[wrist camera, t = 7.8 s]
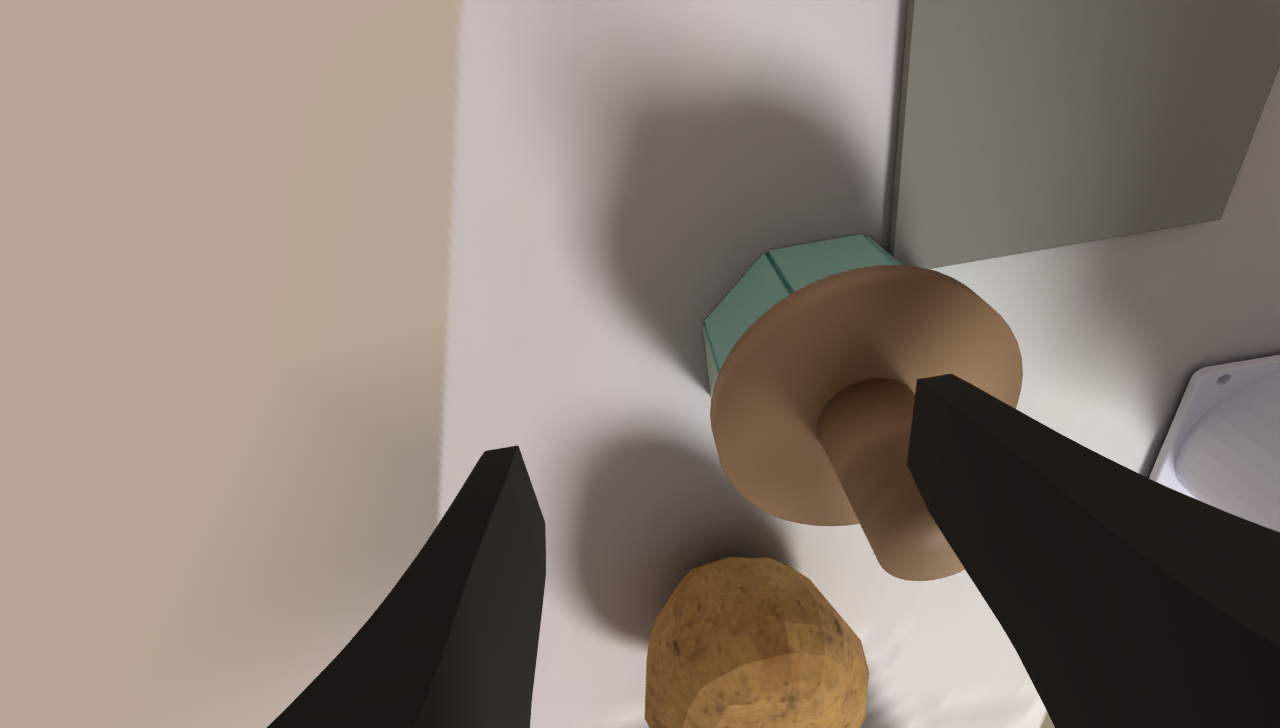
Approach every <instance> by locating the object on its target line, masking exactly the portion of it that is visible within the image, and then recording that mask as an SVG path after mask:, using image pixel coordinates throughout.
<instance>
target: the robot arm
mask: <svg viewBox="0 0 1280 728" xmlns="http://www.w3.org/2000/svg"><path fill="white" fill-rule="evenodd" d="M907 466H908V468H909V470H910V472H911V475H912V477H913V479H914V481H915V484H916V486H917V488H918V490H919V492H920V494H921V496H922V498H923V501H924V503H925V505H926V507H927V509H928V511H929V513H930V515H931V516H932V518H933V519H934V521H935V523H936V524H937V526H938V528H939V529H940V531H941V532H942V534H943V535H944V537H945V539H946V540H947V542H948V543H949V545H950V546H951V548H952V550H953V551H954V553H955V554H956V556H957V557H958V559H959V560H960V562H961V564H962V565H963V567H964V568H965V570H966V571H967V573H968V574H969V576H970V578H971V579H972V581H973V582H974V584H975V585H976V587H977V588H978V590H979V591H980V593H981V595H982V596H983V598H984V599H985V601H986V602H987V604H988V605H989V607H990V608H991V610H992V612H993V613H994V615H995V616H996V618H997V619H998V621H999V622H1000V624H1001V626H1002V627H1003V629H1004V631H1005V632H1006V634H1007V636H1008V638H1009V639H1010V641H1011V643H1012V644H1013V646H1014V648H1015V649H1016V651H1017V653H1018V655H1019V657H1020V659H1021V661H1022V663H1023V665H1024V667H1025V669H1026V671H1027V673H1028V675H1029V676H1030V678H1031V680H1032V682H1033V684H1034V686H1035V688H1036V690H1037V692H1038V694H1039V696H1040V698H1041V700H1042V702H1043V704H1044V706H1045V708H1046V710H1047V712H1048V714H1049V716H1050V718H1051V720H1052V722H1053V724H1054V726H1055V728H1280V355H1275V356H1269V357H1263V358H1257V359H1251V360H1245V361H1239V362H1232V363H1226V364H1220V365H1214V366H1208V367H1204V368H1201V369H1200V370H1198V371H1196V372H1195V373H1194V374H1193V376H1192V377H1191V379H1190V382H1189V384H1188V386H1187V389H1186V391H1185V393H1184V396H1183V398H1182V401H1181V403H1180V405H1179V408H1178V410H1177V412H1176V415H1175V417H1174V420H1173V422H1172V424H1171V427H1170V429H1169V431H1168V434H1167V436H1166V439H1165V441H1164V443H1163V446H1162V448H1161V451H1160V453H1159V455H1158V458H1157V460H1156V462H1155V465H1154V467H1153V470H1152V472H1151V474H1150V477H1149V478H1147V477H1145V476H1142V475H1140V474H1138V473H1136V472H1134V471H1132V470H1130V469H1128V468H1126V467H1124V466H1122V465H1120V464H1118V463H1116V462H1114V461H1112V460H1110V459H1108V458H1106V457H1104V456H1102V455H1100V454H1098V453H1096V452H1094V451H1092V450H1090V449H1088V448H1086V447H1084V446H1082V445H1080V444H1078V443H1076V442H1075V441H1073V440H1071V439H1069V438H1067V437H1065V436H1063V435H1061V434H1060V433H1058V432H1056V431H1054V430H1052V429H1050V428H1049V427H1047V426H1045V425H1043V424H1041V423H1040V422H1038V421H1036V420H1034V419H1032V418H1031V417H1029V416H1027V415H1025V414H1023V413H1022V412H1020V411H1018V410H1016V409H1015V408H1013V407H1011V406H1009V405H1008V404H1006V403H1004V402H1002V401H1001V400H999V399H997V398H995V397H994V396H992V395H990V394H988V393H986V392H985V391H983V390H981V389H979V388H978V387H976V386H974V385H972V384H970V383H969V382H967V381H965V380H963V379H961V378H959V377H957V376H955V375H953V374H946V375H940V376H934V377H928V378H922V379H917V383H916V391H915V400H914V408H913V416H912V425H911V433H910V442H909V450H908V459H907ZM545 577H546V541H545V521H544V518H543V515H542V513H541V510H540V507H539V504H538V501H537V498H536V495H535V492H534V490H533V487H532V484H531V481H530V478H529V475H528V472H527V469H526V466H525V464H524V461H523V458H522V455H521V452H520V449H519V446H513V447H507V448H501V449H495V450H488V451H485V452H484V453H483V455H482V456H481V457H480V459H479V461H478V462H477V464H476V465H475V467H474V469H473V470H472V472H471V474H470V475H469V477H468V478H467V480H466V482H465V483H464V485H463V487H462V488H461V490H460V491H459V493H458V495H457V496H456V498H455V499H454V501H453V503H452V504H451V506H450V507H449V509H448V510H447V512H446V514H445V515H444V517H443V518H442V520H441V521H440V523H439V524H438V526H437V527H436V529H435V530H434V532H433V533H432V535H431V536H430V538H429V539H428V541H427V542H426V544H425V545H424V547H423V548H422V549H421V551H420V552H419V554H418V555H417V557H416V558H415V559H414V561H413V562H412V563H411V565H410V566H409V567H408V569H407V570H406V572H405V573H404V574H403V576H402V577H401V578H400V580H399V581H398V583H397V584H396V585H395V586H394V588H393V589H392V591H391V592H390V593H389V595H388V596H387V597H386V598H385V600H384V601H383V602H382V604H381V605H380V606H379V607H378V608H377V610H376V611H375V612H374V613H373V615H372V616H371V617H370V618H369V620H368V621H367V622H366V623H365V624H364V626H363V627H362V628H361V629H360V630H359V631H358V633H357V634H356V635H355V636H354V637H353V638H352V640H351V641H350V642H349V643H348V644H347V645H346V647H345V648H344V649H343V650H342V651H341V652H340V654H338V655H337V657H336V658H335V659H334V660H333V661H332V662H331V663H330V664H329V665H328V666H327V667H326V668H325V669H324V670H323V671H322V672H321V673H320V674H319V676H317V678H316V679H315V680H314V681H313V682H312V683H311V684H310V685H309V686H308V687H307V688H306V689H305V690H304V691H303V692H302V693H301V694H300V695H299V696H298V697H297V698H296V699H295V700H294V701H293V702H292V703H291V704H290V706H288V707H287V708H286V709H285V711H283V712H282V713H281V714H280V715H279V716H278V717H277V718H276V719H275V720H274V721H273V722H272V723H271V724H270V725H269V726H268V727H267V728H530V717H531V703H532V693H533V684H534V675H535V667H536V658H537V649H538V641H539V632H540V623H541V614H542V605H543V596H544V587H545Z"/></svg>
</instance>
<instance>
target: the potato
mask: <svg viewBox="0 0 1280 728" xmlns="http://www.w3.org/2000/svg"><path fill="white" fill-rule="evenodd" d="M868 679H869V670H868V666H867V662H866V658H865V655H864V651H863V647H862V643H861V640H860V639H859V638H858V637H857V635H856V634H855V633H854V632H853V631H852V629H851V628H850V627H849V626H848V624H847V623H846V622H845V621H844V620H843V619H842V617H841V616H840V615H839V614H838V613H837V611H836V610H835V609H834V608H833V607H832V605H831V604H830V603H829V602H828V601H827V600H826V598H825V597H824V596H823V595H822V594H821V592H820V591H819V590H818V589H817V588H816V586H815V585H814V584H813V583H812V582H811V580H810V579H808V578H807V577H805V576H804V575H802V574H801V573H799V572H798V571H796V570H794V569H793V568H791V567H789V566H787V565H785V564H782V563H780V562H778V561H776V560H773V559H771V558H742V557H730V556H729V557H726V558H723V559H720V560H717V561H714V562H711V563H708V564H705V565H702V566H699V567H696V568H693V569H691V570H690V571H689V573H688V574H687V575H686V576H685V577H684V578H683V579H682V580H681V581H680V582H679V584H678V586H677V587H676V589H675V590H674V592H673V593H672V595H671V596H670V598H669V599H668V601H667V602H666V604H665V605H664V607H663V609H662V610H661V612H660V613H659V615H658V616H657V618H656V619H655V623H654V626H653V629H652V632H651V635H650V639H649V646H648V654H647V668H646V696H645V720H646V722H647V724H648V726H649V728H860V727H861V725H862V723H863V721H864V719H865V710H866V700H867V689H868Z"/></svg>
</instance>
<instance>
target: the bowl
mask: <svg viewBox="0 0 1280 728" xmlns="http://www.w3.org/2000/svg"><path fill="white" fill-rule="evenodd" d="M878 265H902V264H901V263H900V262H899V261H898V260H896V259H895V258H894V257H893V256H892V255H891V254H890V253H889V252H887V251H886V250H885V249H884V248H882V247H881V246H880V245H879V244H878V243H876V242H875V241H874V240H873V239H871V238H870V237H869V236H868V235H867V236H866V237H864V236H863V235H862V234H859V235H853V236H847V237H841V238H836V239H830V240H824V241H818V242H812V243H807V244H801V245H795V246H789V247H783V248H777V249H772V250H769V257H768V256H767V255H765V254H764V253H763V254H762V255H761V256H760V258H759V259H758V260H757V261H756V262H755V263H754V264H753V266H752V267H751V268H750V269H749V270H748V271H747V272H746V274H745V275H744V276H743V277H742V278H741V279H740V280H739V282H738V283H737V284H736V285H735V286H734V287H733V289H732V290H731V291H730V292H729V293H728V294H727V295H726V297H725V298H724V299H723V300H722V301H721V302H720V303H719V305H718V306H717V307H716V308H715V309H714V310H713V311H712V313H711V314H710V315H709V316H708V317H707V318H706V320H705V321H704V322H705V325H704V326H703V333H704V342H705V351H706V360H707V369H708V378H709V387H710V396H711V398H712V394H713V390H714V386H715V382H716V379H717V377H718V374H719V372H720V369H721V367H722V365H723V363H724V361H725V360H726V358H727V356H728V354H729V353H730V351H731V349H732V348H733V347H734V345H735V344H736V343H737V341H738V340H739V339H740V337H741V336H742V335H743V333H744V332H745V331H746V330H747V329H748V328H749V327H750V326H751V325H752V324H753V323H754V322H755V321H756V320H757V319H758V318H759V317H760V316H762V315H763V314H764V313H765V312H766V311H767V310H769V309H770V308H771V307H772V306H774V305H775V304H777V303H778V302H780V301H781V300H783V299H784V298H786V297H787V296H789V295H790V294H792V293H793V292H795V291H797V290H799V289H801V288H803V287H805V286H807V285H809V284H811V283H813V282H815V281H818V280H821V279H823V278H826V277H828V276H831V275H834V274H837V273H841V272H845V271H848V270H852V269H857V268H863V267H870V266H878Z"/></svg>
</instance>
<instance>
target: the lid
mask: <svg viewBox="0 0 1280 728" xmlns="http://www.w3.org/2000/svg"><path fill="white" fill-rule="evenodd" d="M946 374H953V375H955V376H957V377H959V378H961V379H963V380H965V381H967V382H969V383H970V384H972V385H974V386H976V387H978V388H979V389H981V390H983V391H985V392H986V393H988V394H990V395H992V396H994V397H995V398H997V399H999V400H1001V401H1002V402H1004V403H1006V404H1008V405H1009V406H1011V407H1013V408H1015V409H1016V406H1017V403H1018V399H1019V395H1020V392H1021V385H1022V375H1023V371H1022V358H1021V354H1020V350H1019V346H1018V343H1017V340H1016V338H1015V336H1014V334H1013V332H1012V330H1011V328H1010V327H1009V326H1008V324H1007V323H1006V322H1005V320H1004V319H1003V318H1002V316H1001V315H1000V314H999V313H997V312H996V311H995V310H994V309H993V308H992V307H991V306H990V305H988V304H987V303H986V302H985V301H984V300H983V299H981V298H980V297H979V296H978V295H977V294H976V293H974V292H973V291H972V290H971V289H970V288H969V287H967V286H965V285H964V284H962V283H961V282H959V281H957V280H956V279H954V278H952V277H949V276H947V275H944V274H942V273H939V272H937V271H933V270H929V269H925V268H920V267H914V266H904V265H878V266H870V267H863V268H857V269H852V270H848V271H845V272H841V273H837V274H834V275H831V276H828V277H826V278H823V279H821V280H818V281H815V282H813V283H811V284H809V285H807V286H805V287H803V288H801V289H799V290H797V291H795V292H793V293H792V294H790V295H789V296H787V297H786V298H784V299H783V300H781V301H780V302H778V303H777V304H775V305H774V306H772V307H771V308H770V309H769V310H767V311H766V312H765V313H764V314H763V315H762V316H760V317H759V318H758V319H757V320H756V321H755V322H754V323H753V324H752V325H751V326H750V327H749V328H748V329H747V330H746V331H745V332H744V333H743V335H742V336H741V337H740V339H739V340H738V341H737V343H736V344H735V345H734V347H733V348H732V349H731V351H730V353H729V354H728V356H727V358H726V360H725V361H724V363H723V365H722V367H721V369H720V372H719V374H718V377H717V379H716V382H715V386H714V390H713V394H712V398H711V411H710V417H711V428H712V432H713V436H714V440H715V444H716V448H717V451H718V455H719V459H720V462H721V465H722V467H723V470H724V472H725V474H726V476H727V478H728V479H729V481H730V482H731V483H732V485H733V486H734V488H735V489H736V490H737V491H738V492H739V493H740V494H741V495H742V496H743V497H744V498H745V499H746V500H748V501H749V502H750V503H752V504H753V505H754V506H756V507H757V508H759V509H761V510H763V511H765V512H767V513H769V514H771V515H773V516H776V517H779V518H781V519H784V520H788V521H792V522H796V523H801V524H808V525H815V526H843V525H853V524H860V525H861V527H862V529H863V531H864V533H865V535H866V537H867V539H868V541H869V543H870V545H871V547H872V549H873V551H874V553H875V555H876V558H877V560H878V562H879V563H880V565H881V567H882V568H883V569H884V570H885V571H886V572H888V573H889V574H891V575H893V576H895V577H897V578H900V579H904V580H911V581H928V580H935V579H940V578H944V577H947V576H951V575H954V574H956V573H959V572H961V571H963V570H965V568H964V567H963V565H962V564H961V562H960V560H959V559H958V557H957V556H956V554H955V553H954V551H953V550H952V548H951V546H950V545H949V543H948V542H947V540H946V539H945V537H944V535H943V534H942V532H941V531H940V529H939V528H938V526H937V524H936V523H935V521H934V519H933V518H932V516H931V515H930V513H929V511H928V509H927V507H926V505H925V503H924V501H923V498H922V496H921V494H920V492H919V490H918V488H917V486H916V484H915V481H914V479H913V477H912V475H911V472H910V470H909V468H908V466H907V459H908V450H909V442H910V433H911V425H912V416H913V408H914V400H915V391H916V383H917V379H922V378H928V377H934V376H940V375H946Z"/></svg>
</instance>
